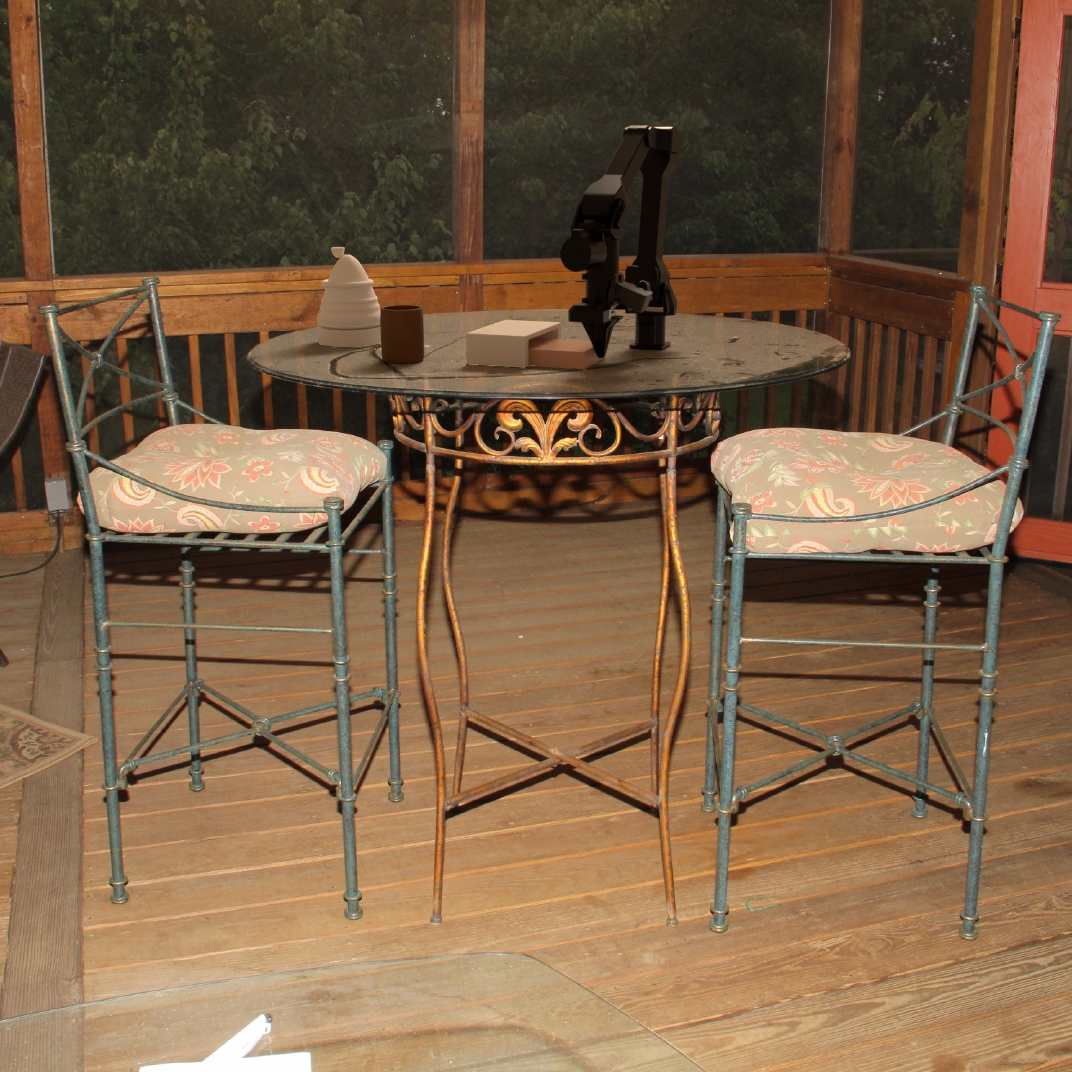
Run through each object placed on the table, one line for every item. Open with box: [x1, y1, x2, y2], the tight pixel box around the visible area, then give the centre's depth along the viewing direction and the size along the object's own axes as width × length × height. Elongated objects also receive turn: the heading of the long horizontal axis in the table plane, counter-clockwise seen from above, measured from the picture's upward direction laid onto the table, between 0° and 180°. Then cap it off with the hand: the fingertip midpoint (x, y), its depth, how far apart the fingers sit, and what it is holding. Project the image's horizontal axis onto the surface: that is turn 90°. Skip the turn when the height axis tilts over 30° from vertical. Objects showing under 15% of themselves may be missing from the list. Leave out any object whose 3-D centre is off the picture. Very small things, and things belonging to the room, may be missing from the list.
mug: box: [380, 304, 425, 365], centre depth 226 cm, size 12×8×9 cm, turn 10°
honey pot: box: [316, 246, 381, 348], centre depth 243 cm, size 13×13×18 cm
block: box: [528, 338, 606, 370], centre depth 225 cm, size 12×18×4 cm, turn 70°
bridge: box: [465, 319, 562, 368], centre depth 226 cm, size 18×11×6 cm, turn 159°
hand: (601, 357), depth 221 cm, fingers closed
